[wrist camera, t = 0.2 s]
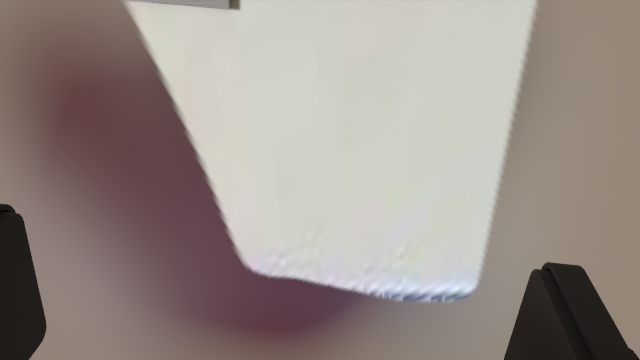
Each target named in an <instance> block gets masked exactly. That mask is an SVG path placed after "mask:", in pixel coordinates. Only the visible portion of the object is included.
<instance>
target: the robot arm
mask: <svg viewBox="0 0 640 360" xmlns="http://www.w3.org/2000/svg"><path fill="white" fill-rule="evenodd" d="M45 332H46V320H45V315H44V311H43V306H42V302H41V297H40V293H39V288H38V284H37V279H36V275H35V270H34V266H33V261H32V256H31V252H30V248H29V243H28V239H27V234H26V230H25V225H24V221H23V218H22V217H21V216H20V214H17V213H16V212H15V210H14V209H13V208H12V207H11V206H9V205H7V204H0V360H29V359H30V357H31V356H32V355H33V353H34V352H35V350H36V349H37V348H38V346H39V345H40V344H41V342H42V341H43V338H44V336H45ZM504 360H639V358H638V357H637V355H636V354H635V353H634V351H633V350H631V349H630V348H628V347H627V344H626V343H625V341H624V339H623V338H622V336H621V334H620V332H619V330H618V328H617V327H616V325H615V323H614V321H613V320H612V318H611V316H610V314H609V313H608V311H607V309H606V307H605V306H604V304H603V302H602V300H601V298H600V297H599V295H598V293H597V291H596V290H595V288H594V286H593V284H592V283H591V281H590V279H589V277H588V276H587V274H586V272H585V270H584V269H583V268H582V267H581V266H578V265H568V264H558V263H550V262H548V263H545V264H544V266H543V267H542V269H541V270H538V269H535V270H533V271H532V273H531V275H530V278H529V281H528V284H527V287H526V291H525V294H524V297H523V300H522V303H521V306H520V310H519V313H518V316H517V319H516V323H515V326H514V329H513V332H512V335H511V338H510V341H509V345H508V348H507V351H506V354H505V357H504Z"/></svg>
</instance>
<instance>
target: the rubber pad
mask: <svg viewBox="0 0 640 360" xmlns="http://www.w3.org/2000/svg"><path fill="white" fill-rule="evenodd" d="M134 1H145V2H156V3H168V4H179V5H190V6H201V7H212V8H223V9H229V8H230V7H231V0H134Z"/></svg>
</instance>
